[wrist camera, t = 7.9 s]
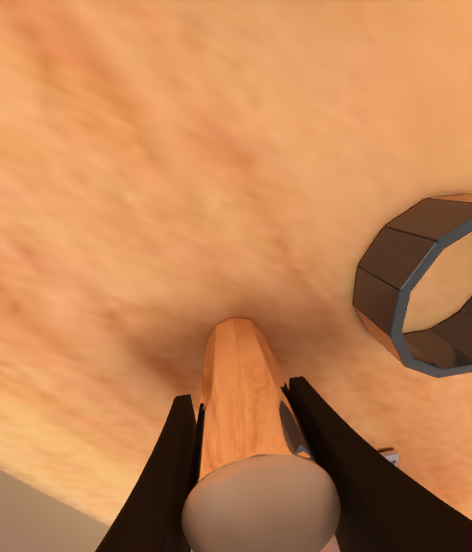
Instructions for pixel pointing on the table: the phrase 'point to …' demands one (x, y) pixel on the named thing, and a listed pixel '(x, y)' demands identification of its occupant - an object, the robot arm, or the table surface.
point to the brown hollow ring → (402, 279)
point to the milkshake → (253, 456)
